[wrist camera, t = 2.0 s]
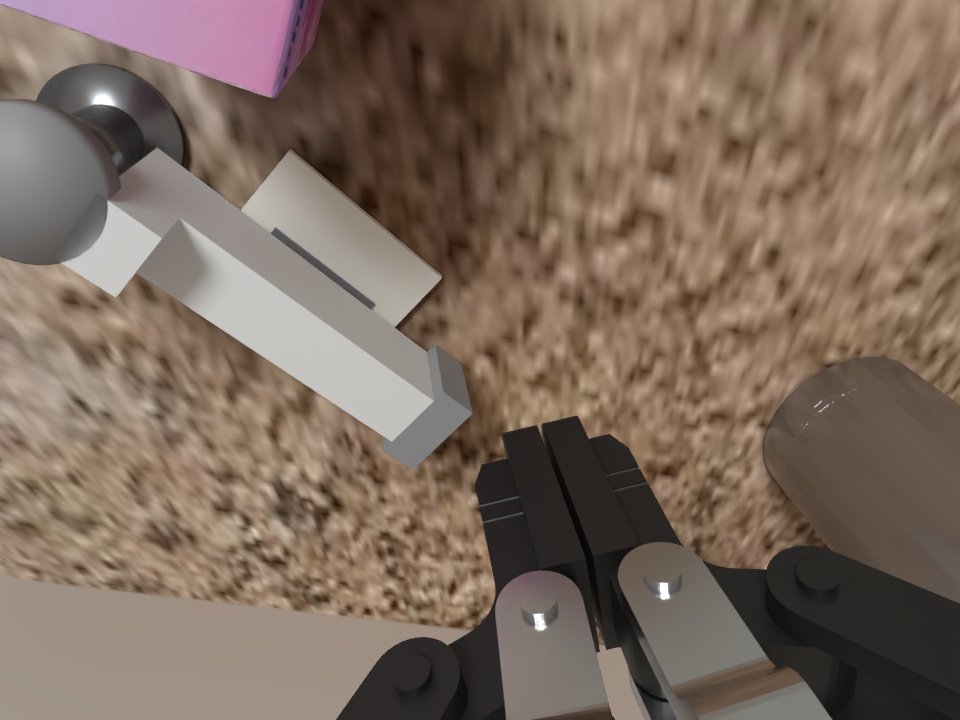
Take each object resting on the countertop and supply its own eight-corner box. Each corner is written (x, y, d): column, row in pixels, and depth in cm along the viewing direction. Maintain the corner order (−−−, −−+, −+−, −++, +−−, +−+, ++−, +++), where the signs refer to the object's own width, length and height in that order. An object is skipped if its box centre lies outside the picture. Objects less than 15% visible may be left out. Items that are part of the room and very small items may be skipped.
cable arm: (4, 148, 23) (-103, 195, 18) (70, 47, 22) (-24, 67, 17) (402, 421, 31) (408, 508, 26) (467, 358, 30) (487, 436, 25)
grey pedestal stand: (211, 132, 25) (168, 170, 20) (138, 227, 27) (81, 286, 21) (84, 30, 23) (-1, 44, 18) (11, 140, 24) (-86, 182, 19)
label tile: (441, 274, 29) (442, 279, 29) (326, 393, 31) (326, 399, 31) (290, 148, 26) (288, 151, 25) (173, 291, 28) (170, 296, 28)
